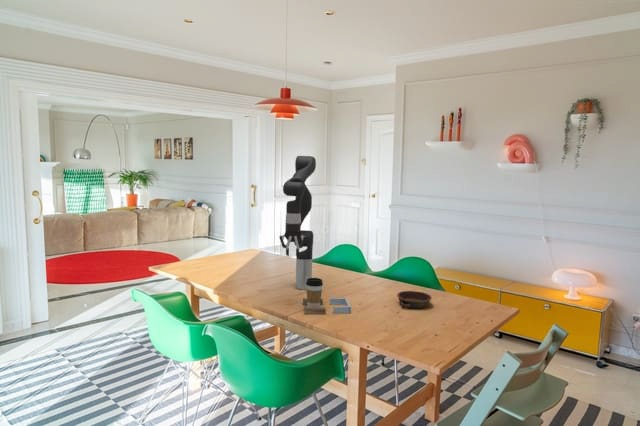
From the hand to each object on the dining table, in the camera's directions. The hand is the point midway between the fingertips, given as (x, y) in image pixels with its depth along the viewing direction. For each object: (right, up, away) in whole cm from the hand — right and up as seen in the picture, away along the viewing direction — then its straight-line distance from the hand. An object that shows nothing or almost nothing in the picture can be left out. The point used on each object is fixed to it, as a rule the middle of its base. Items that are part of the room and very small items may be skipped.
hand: (292, 255), depth 220 cm
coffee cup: (+11, -26, -2) cm, 28 cm away
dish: (+63, -27, +9) cm, 69 cm away
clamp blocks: (+11, -26, -2) cm, 28 cm away
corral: (+24, -26, -1) cm, 35 cm away
